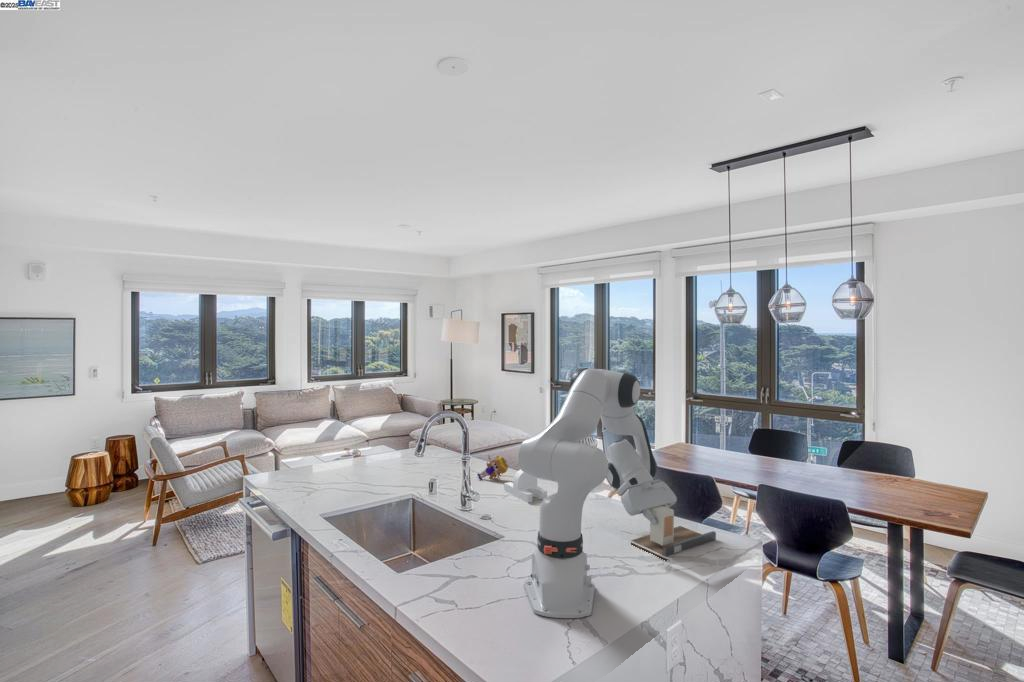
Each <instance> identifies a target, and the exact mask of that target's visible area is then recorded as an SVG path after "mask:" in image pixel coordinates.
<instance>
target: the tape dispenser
mask: <svg viewBox="0 0 1024 682" xmlns="http://www.w3.org/2000/svg"><path fill="white" fill-rule="evenodd" d="M503 486H504V487H503V491H504V490H505V491H506V492H505V491H504V492H505V493H507V492H508V493H507V494H509V493H510V494H509V495H511V494H512V495H511V496H513V495H514V496H513V497H514V498H516V497H517V498H516V499H518V498H519V499H518V500H520V499H521V501H522V500H523V502H524V501H525V503H526V502H530V503H533V497H532V496H534V498H537V497H538V498H537V499H539V498H540V499H539V500H541V499H542V500H541V501H543V499H545V498H546V497H548V490H546V489H545V488H543V487H539V486H538V478H536V477H534V476H531V475H529V474H527V473H525V472H523V471H522V470H521V469H520V468H519V470H517V472H516V473H515V474H514V477H513V479H512V482H511V481H509V482H504V483H503Z"/></svg>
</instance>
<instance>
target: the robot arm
mask: <svg viewBox="0 0 1024 682" xmlns="http://www.w3.org/2000/svg"><path fill="white" fill-rule="evenodd" d="M570 376H571V377H570V380H569V390H568V392H567V395H566V397H565V399H564V402H563V404H562V406H561V408H560V410H558V413H557V415H556V416H555V418H554V419H553V420H552V421H551V422H550V424H548V425H547V426H546V427H545V428H544V429H543V430H541V431H540V432H539V433H537V434H534V435H533V436H530V437H528V438H526V439H524V440H523V441H522V442H521V444H520V445H519V447H518V450H517V455H516V459H517V460H516V461H517V464H518V467H519V470H520V469H521V470H522V471H523V472H525V473H527V474H529V475H531V476H534V477H536V478H537V479H541V480H546V481H551V482H556V483H557V491H556V492H555V493H552V494H550V495H547V497H546V498H545V499H544V500H542V502H541V504H540V506H539V530H538V532H537V538H536V540H537V544H536V545H537V548H536V550H535V551H533V552H532V553H531V567H530V568H531V570H530V571H531V574H530V578H527V579H525V580H524V581H523V587H524V590H525V592H526V595H527V597H528V600H529V603H530V606H531V608H532V611H533V612H534V614H536V615H539V616H543V617H545V618H546V617H547V618H552V619H553V618H556V619H581V618H585V616H586V617H588V616H591V615H592V612H593V605H594V597H595V592H596V584H595V582H594V581H592V576H591V575H588V571H590V567H591V566H590V564H588V554H586V552H585V551H584V538H583V537H584V536H583V533H582V517H583V508H584V504H585V502H586V499H587V497H588V495H589V494H590V493H591V492H592V491H593V490H594V489H595V488H597V487H599V486H601V484H602V483H603V482H604V481H605V480H606V481H607V482H608V484H609V486H610V487H612V488H614V489H616V494H617V495H618V496H619V497H620V501H621V503H622V505H623V508H624V509H625V511H626V513H627V514H628V515H630V517H633V516H637V515H641V514H642V515H643V517H644V518H646V519H647V520H648V521H649V522H651V524H652V525H656V524H658V523H659V521H658V520H657V518H656V517H654V516H652V515H651V514H650V508H654V507H658V506H664V507H667V508H669V509H671V508H670V507H672V506H674V505H675V504H676V503H677V501H678V498H677V495H676V494H675V493H674V491H673V490H672V489H671V488H670V487H669V485H668V484H667V483H665V481H663V480H661V479H659V478H657V479H654V478H655V476H656V474H657V471H658V465H657V460H656V458H655V457H654V454H653V451H652V447H651V443H650V439H649V435H648V431H647V428H646V425H645V422H644V420H643V418H642V417H641V416H639V415H638V414H635V411H634V410H635V409H634V406H635V405H636V404H637V403H638V401H639V398H640V395H641V384H640V380H639V379H638V377H637V376H636V375H634V374H632V373H628V372H619V371H614V370H608V369H605V368H603V369H602V368H587V367H583V368H582V367H581V368H578V369H576V370H575V371H574V372H573V373H572V374H571V375H570ZM600 420H601V423H602V426H603V427H604V428H605V429H606V430H607V431H608V432H610V433H611V434H614V435H617V436H631V437H633V441H634V444H635V445H634V446H635V447H633V445H632V443H630V441H628V440H627V439H626V438H623V439H619V440H618V439H617V440H616V441H614V442H611V443H610V444H608V446H607V449H606V451H607V453H608V457H607V455H606V453H605V452H604V451H603V449H601V448H599V447H596V446H593V445H590V444H588V443H584V442H580V441H582V440H586V439H588V438H589V437H591V436H592V435H593V434H594V433H595V432H596V430H597V428H598V425H599V422H600ZM608 458H609V460H608Z"/></svg>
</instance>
